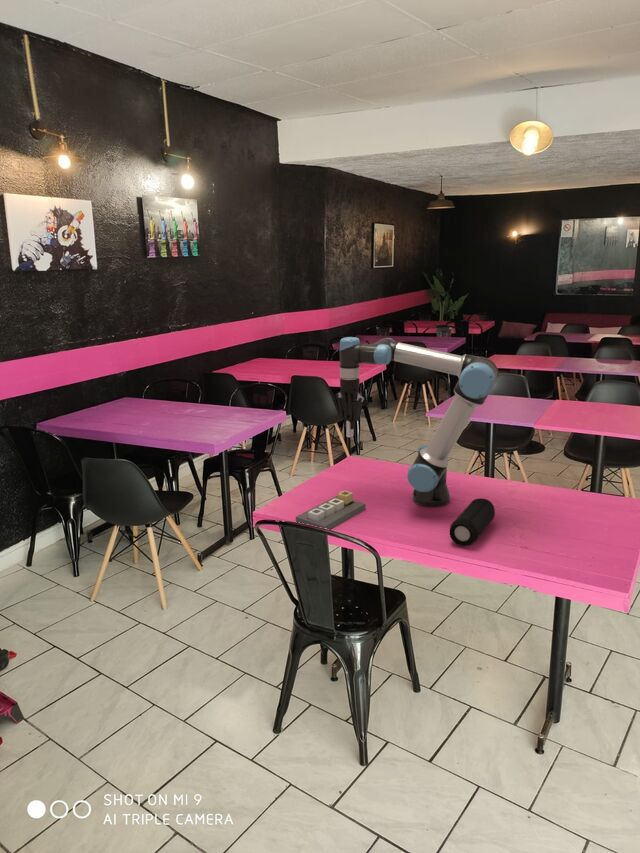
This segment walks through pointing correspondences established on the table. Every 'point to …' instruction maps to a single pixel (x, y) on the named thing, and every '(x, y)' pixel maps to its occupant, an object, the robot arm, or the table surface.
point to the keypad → (333, 515)
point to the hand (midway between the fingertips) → (349, 436)
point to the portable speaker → (472, 522)
